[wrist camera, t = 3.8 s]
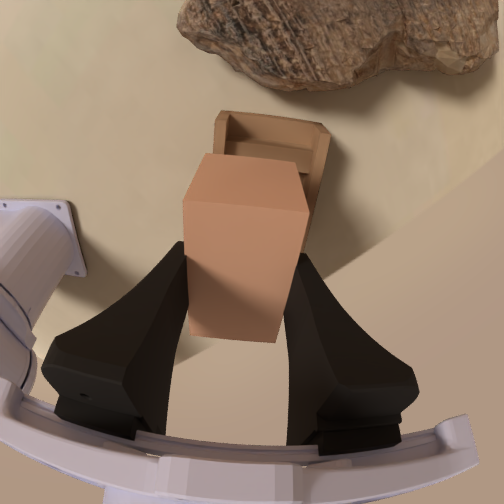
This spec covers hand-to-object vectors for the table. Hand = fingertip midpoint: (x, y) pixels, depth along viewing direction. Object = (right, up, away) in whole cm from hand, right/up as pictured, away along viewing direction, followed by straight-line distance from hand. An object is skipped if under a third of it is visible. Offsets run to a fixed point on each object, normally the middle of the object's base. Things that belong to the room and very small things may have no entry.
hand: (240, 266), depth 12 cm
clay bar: (0, +2, +3) cm, 3 cm away
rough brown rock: (+6, +17, -1) cm, 18 cm away
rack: (+1, +5, +7) cm, 9 cm away
